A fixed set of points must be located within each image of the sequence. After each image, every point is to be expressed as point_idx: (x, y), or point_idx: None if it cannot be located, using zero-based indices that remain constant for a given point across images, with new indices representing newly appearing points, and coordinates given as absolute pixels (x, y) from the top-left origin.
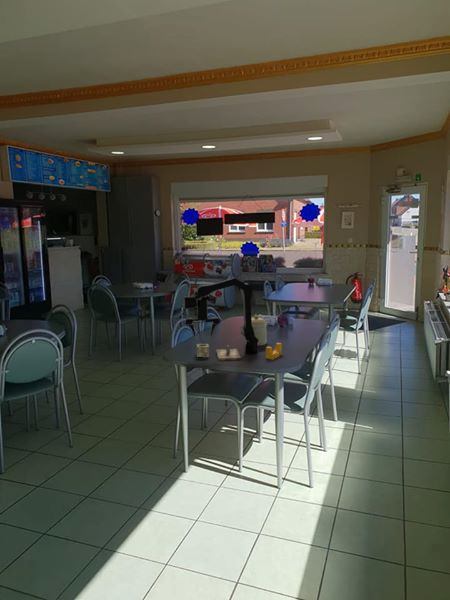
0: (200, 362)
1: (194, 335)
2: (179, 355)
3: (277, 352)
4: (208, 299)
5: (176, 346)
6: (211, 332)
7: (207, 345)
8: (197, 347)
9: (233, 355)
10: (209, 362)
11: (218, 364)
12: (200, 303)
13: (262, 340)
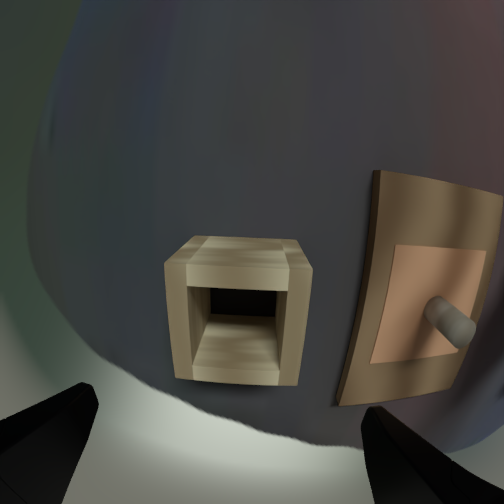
0: (218, 412)
1: (91, 415)
2: (72, 243)
3: None
4: None
5: (78, 16)
6: (377, 480)
7: (290, 342)
8: (178, 375)
9: (440, 355)
10: (272, 419)
11: (313, 443)
12: None
13: None
